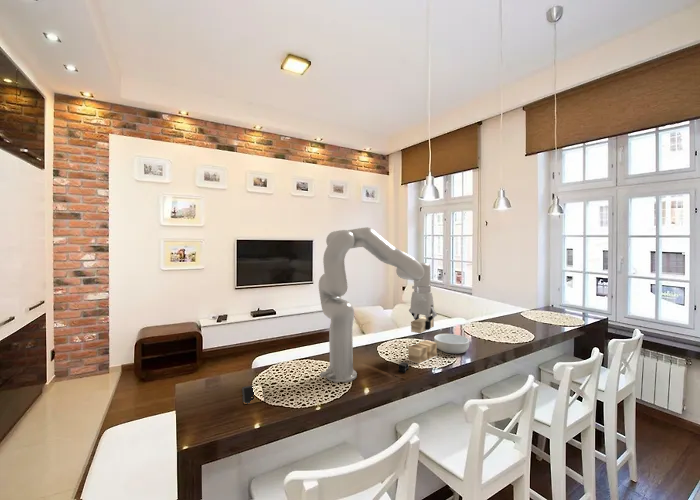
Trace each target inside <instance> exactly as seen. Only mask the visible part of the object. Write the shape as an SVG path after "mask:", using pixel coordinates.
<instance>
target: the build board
mask: <svg viewBox="0 0 700 500" xmlns="http://www.w3.org/2000/svg"><path fill="white" fill-rule="evenodd" d="M438 356H439V355H438V354H437V356H435V357H432V358H430V359H429V358H427V360H426V361H424V362H422V363H417V362H414V361H411V360H409V358H408V359H407V361H409V362H412V363H415V364H418V365H421V364H423V363H425V362H429V360H432V359H435V358H437V357H438Z"/></svg>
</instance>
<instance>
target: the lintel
mask: <svg viewBox="0 0 700 500" xmlns="http://www.w3.org/2000/svg"><path fill="white" fill-rule="evenodd" d="M434 318H435V317H434ZM434 318H433V319H432V321H431V328H430V329H433V328H434V321H435V320H434ZM425 322H426V317H425V315H423V316H422V317H419V319H417V320H415V319H414V320H412V321H410V331H411V333H416V334H422V333H424V332H426V331H427V330H426V328H425Z"/></svg>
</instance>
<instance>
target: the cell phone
mask: <svg viewBox="0 0 700 500" xmlns="http://www.w3.org/2000/svg"><path fill="white" fill-rule="evenodd" d="M252 387H253V386H252V385H247V386H243V387H241V388H242V389H241V392H242V395H243V396H242V403H243V402H245V403H247V404H248V403H250V401H251V400H253V399H254V396H253V395H254V392H253V388H252ZM251 397H253V398H251Z"/></svg>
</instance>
